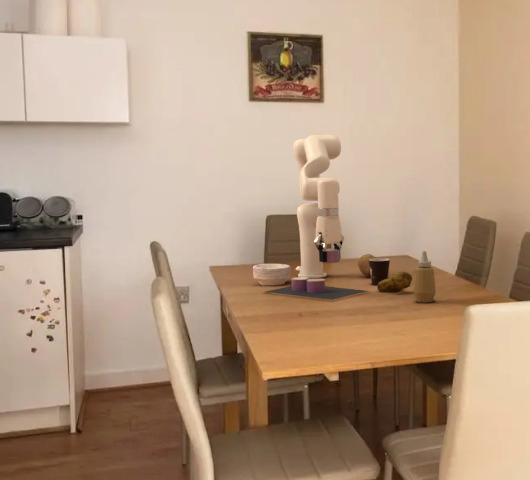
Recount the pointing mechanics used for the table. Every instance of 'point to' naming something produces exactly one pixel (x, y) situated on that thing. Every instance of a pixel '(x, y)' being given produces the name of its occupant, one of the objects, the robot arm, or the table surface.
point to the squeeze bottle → (424, 281)
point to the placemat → (328, 294)
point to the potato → (395, 282)
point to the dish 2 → (332, 256)
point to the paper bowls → (271, 273)
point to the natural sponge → (365, 264)
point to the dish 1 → (299, 283)
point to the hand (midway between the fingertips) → (330, 260)
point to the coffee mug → (379, 269)
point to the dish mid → (315, 285)
